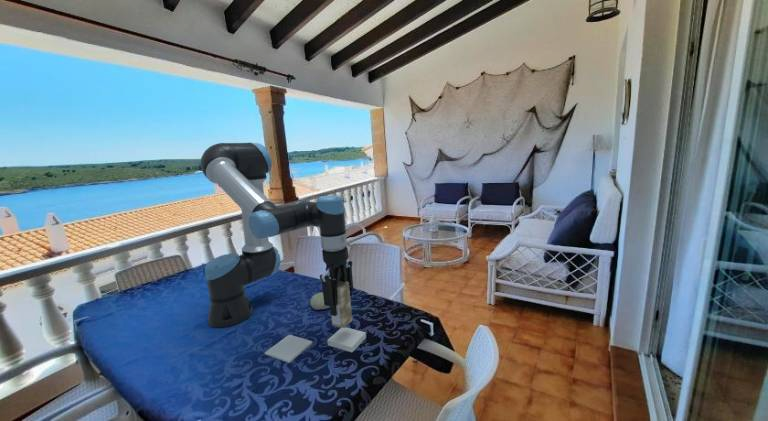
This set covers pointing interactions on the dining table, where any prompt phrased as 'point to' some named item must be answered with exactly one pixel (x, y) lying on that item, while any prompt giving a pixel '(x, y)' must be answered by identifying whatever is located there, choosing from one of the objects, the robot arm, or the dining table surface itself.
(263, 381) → the dining table surface
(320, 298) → the sea urchin shell
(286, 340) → the mat
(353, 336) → the tile
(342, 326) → the beige rectangular block
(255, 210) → the robot arm
